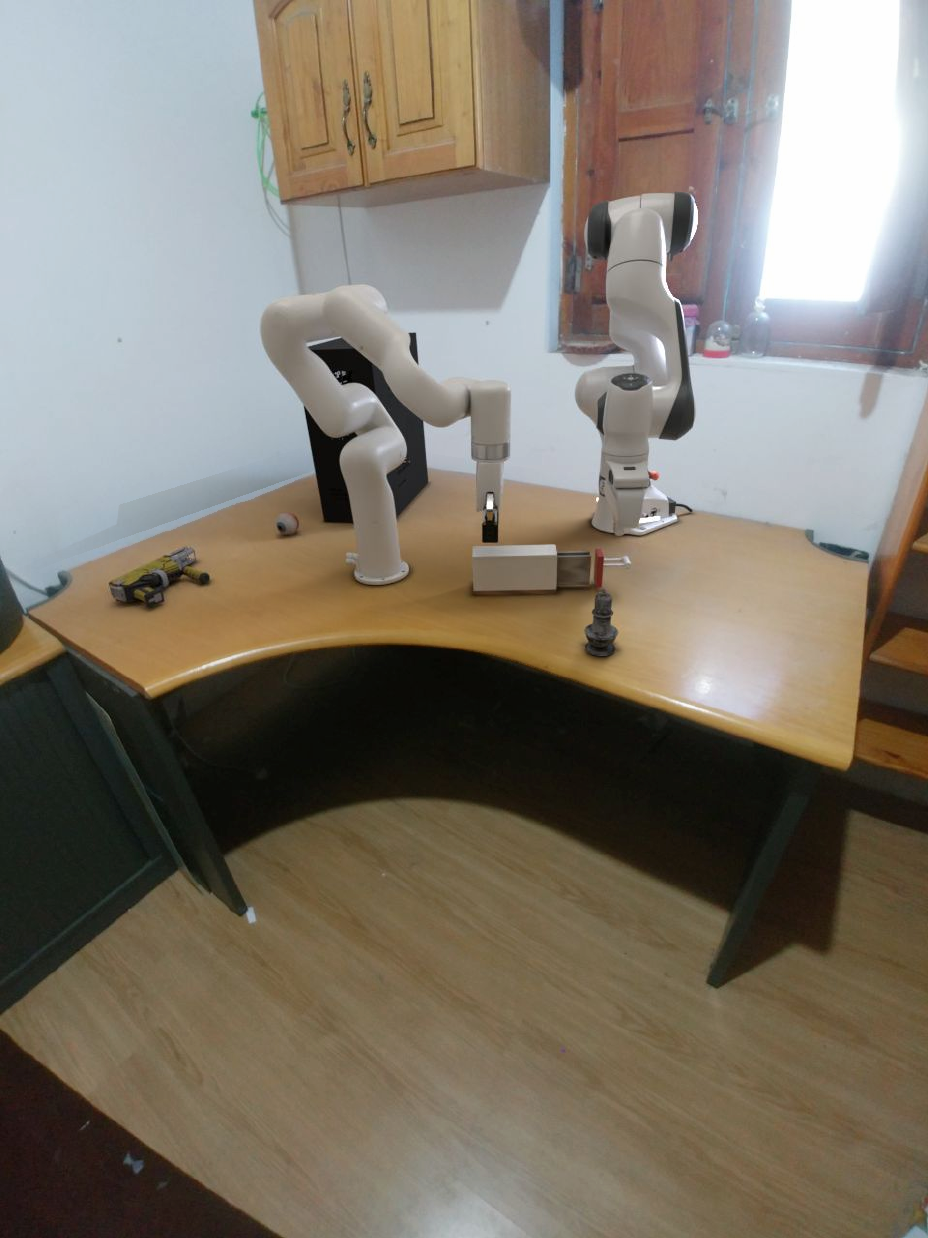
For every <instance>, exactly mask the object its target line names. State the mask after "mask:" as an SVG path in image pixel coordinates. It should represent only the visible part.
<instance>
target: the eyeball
mask: <svg viewBox="0 0 928 1238" xmlns="http://www.w3.org/2000/svg"><path fill="white" fill-rule="evenodd" d="M299 525H300V522H299V519H298V517H297V516H296V515H295V514H294V513H292V512H287V511H286V512H282V513H280V514H279V515H278V516H277V517H276V520H275V527H276V529H277V530H278V531H279V532H280V533H281V534H282V535H285V536H286V535H287V536H289V535H293V534H295V533H296V532H297V531H298V529H299Z"/></svg>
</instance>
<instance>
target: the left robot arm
mask: <svg viewBox="0 0 928 1238" xmlns="http://www.w3.org/2000/svg"><path fill="white" fill-rule="evenodd" d="M408 333H409V332H408V331H407V330H406V329H405V328H404V327H403V326H401V325H400V324H399V323H397V322H396V321H395V320H393V319H392V318H391V317H390V316H389V315H388V306H387V301H386V300H385V298H384V296H383V294H382V293H381V292H380V291H379V290H378V289H377V288H376V287H373V286H372V285H369V284H364V283H359V284H346V285H340V286H337V287H335V288H333V289H332V290H330V291H325V292H318V293H307V294H297V295H295V294H294V295H287V296H283V297H279V298H276V299H274V300H273V301H271V302H269V303H268V305H267V306H266V307H265V308H264V310H263V312H262V314H261V317H260V323H259V334H260V339H261V343H262V347H263V349H264V351H265V354H266V356H267V357H268V359H269V360H270V362H271V363H272V365H273V366H274V367H275V369H276V370H277V371H278V372H279V374H280V375H281V376H282V377H283V379H284V380H285V381H286V382H287V383H288V385H289V386H290V387H291V389H292V390H293V391H294V393H295V395H296V396H297V397H298V399H299V400H300V402H301V404H302V405H303V407H304V406H305V407H306V409H307V410H308V412H309V413H310V414H311V416H312V417H313V419H314V420H315V422H316V423H317V424H318V426H319V427H320V428H321V430H322V431H323V432H324V433H325V434H326V435H328V436H330V437H333V438H339V437H343V436H346V435H348V434H351V433H353V432H355V433H356V434H357V437H355V438H354V439H352V440H350V441H349V442H348V443H347V444H346V445H345V446H344V448H343V449H342V452H341V455H340V467H341V471H342V474H343V477H344V480H345V483H346V486H347V489H348V494H349V499H350V504H351V511H352V516H353V522H352V523H353V528H354V529H353V530H354V535H355V542H356V548H357V553H355V552H346V554H345V564H346V565H349V566H354V567H355V569H354V571H353V575H354V578H355V580H356V581H358V582H359V583H361V584H364V585H369V586H384V585H389V584H393V583H396V582H398V581H401V580H402V579H404V578H405V577H407V575H408V574H409V572H410V569H409V564H408V563H407V562H406V561H404V560H403V559H402V555H401V547H400V539H399V531H398V530H399V529H398V521H397V518H396V511H395V504H394V497H393V493H392V490H391V488H390V485H389V483H388V481H387V478H386V474H388V473H389V472H391V471H392V470H394V469H395V468H397V467H398V466H400V465H401V464H402V463H403V461H404V460H405V457H406V454H407V446H406V442H405V439H404V437H403V435H402V433H401V432H400V430H399V429H398V427H397V426H396V424H395V423H394V421H393V420H392V418H391V417H390V415H389V414H388V412H387V411H386V409H385V408H384V406H383V405H382V403H381V402H380V401H379V399H378V398H377V396H376V395H375V394H374V393H373V392H372V391H371V390H370V389H369V388H367V387H366V386H364V385H362V384H359V383H348V384H345V385H341V383H339V382H338V380H337V379H336V378H335V377H334V375H333V374H332V372H331V371H330V369H329V368H328V366H327V365H326V364H325V362H324V361H323V360H322V359H321V358H320V357H318V356H317V355H316V354H315V353H313V352H312V351H311V350H310V349H309V348H308V345H307V344H309V343H313V342H318V341H323V340H329V339H333V338H335V339H336V338H343V339H344V340H345V341H346V342H348V343H349V344H350V345H351V346H352V347H354V348H355V349H356V350H357V351H359V352H360V353H361V354H362V355H363V356H365V357H366V358H367V359H368V360H369V361H370V362H372V363H373V364H374V365H375V366H376V367H378V368H379V369H380V370H381V371H382V373H383V375H384V378H385V380H386V382H387V384H388V385H389V387H390V389H391V390H392V392H393V393H394V395H395V396H396V397H397V399H398V400H399V401H400V402H401V403H402V404H403V405H404V406H406V407H407V408H408V409H409V410H410V411H412V412H413V413H414V414H415V415H416V416H418V417H419V418H420V419H422V420H423V423H426V424H427V425H430V426H432V427H435V428H447V427H450V426H452V425H453V424H456V423H457V422H458V421H460V420H464V419H466V418H469V417H470V456H471V457H470V459H471V460H472V461H474V462H476V466H475V509H476V510H475V511H476V512H477V513H480V512H482V523H481V542H482V543H483V544H498V542H499V522H500V521H499V515H500V511H501V509H502V502H503V501H502V500H503V494H504V493H503V491H504V469H505V468H504V467H505V462H506V461H509V460H510V459H511V430H512V429H511V424H512V423H511V422H512V421H511V420H512V417H511V416H512V389H511V386H510V384H509V383H507V382H505V381H503V380H489V379H488V380H479V379H478V380H477V379H472V378H468V377H464V376H454V377H450V378H448V379H445V380H443V381H440V382H439V381H437V380H436V379H435V378H433V376H431V375H430V374H428V373H427V372H426V371H425V370H424V369H423V368H422V367H421V366H420V365H418V364H417V363H416V362H415V360H414V359H413V357H412V355H411V353H410V350H409V346H410V336H409V334H408Z"/></svg>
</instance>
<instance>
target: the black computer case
mask: <svg viewBox="0 0 928 1238" xmlns="http://www.w3.org/2000/svg"><path fill="white" fill-rule="evenodd" d="M408 334H409V336H410V346H409V350H410V353H411V355H412V357H413V359H414V360H415V362H416V363H417V364H418V365H419V363H420V362H419V352H418V351H419V350H418V340H417V332H408ZM307 347H308V348H309V349H310V350H311V351H312V352H313V353H315V354H316V355H317V356H318V357H320V358H321V359H322V360H323V361H324V362H325V364H326V365H327V366H328V368H329V369H330V371H331V372H332V374H333V375H334V377H335V378H336V379H337V380H338V382H339V383H340V384H341V385H345V384H348V383H359V384H362V385H364V386H366V387H367V388H369V389H370V390H371V391H372V392H373V393H374V394H375V395H376V396H377V398H378V399H379V401H380V402H381V403H382V405H383V406H384V408H385V409H386V411H387V412H388V414H389V415H390V417H391V418H392V420H393V421H394V423H395V424H396V426H397V427H398V429H399V430H400V432H401V433H402V435H403V437H404V439H405V442H406V446H407V454H406V457H405V460H404V461H403V463H402V464H401V465H400V466H398V467H397V468H395V469H394V470H392V471H391V472H389V473H388V474H386V478H387V481H388V483H389V485H390V488H391V490H392V493H393V497H394V504H395V511H396V519H397V518H398V517H399V516H400V515H401V513H403V511H404V510H405V509H406V508H407V507H408V506H409V505H410V503H412V502H413V500H414V499H415V498H416V497H417V496H418V494H420V492H421V491H422V490H423V489H424V488H425V487H426V486H427V485H428V483H429V474H428V472H429V471H428V462H427V461H428V460H427V449H426V447H427V446H426V436H425V424H424V423H425V422H424V421H423V420H422V419H420V418H419V417H418V416H416V415H415V414H414V413H413V412H412V411H410V410H409V409H408V408H407V407H406V406H404V405H403V404H402V403H401V402H400V401H399V400H398V399H397V397H396V396H395V395H394V393H393V392H392V390H391V389H390V387H389V385H388V384H387V382H386V380H385V378H384V375H383V373H382V371H381V370H380V369H379V368H378V367H376V366H375V365H374V364H373V363H372V362H370V361H369V360H368V359H367V358H366V357H365V356H363V355H362V354H361V353H360V352H359V351H357V350H356V349H355V348H354V347H352V346H351V345H350V344H349V343H348V342H346V341H345V340H344V339H343V338H342V337H337V338H335V339H331V340H327V341H323V342H320V343H316V344H312V345H307ZM419 366H420V365H419ZM303 410H304V411H303V412H304V416H305V421H306V427H307V428H306V429H307V434H308V438H309V444H310V449H311V450H310V451H311V456H312V462H313V466H314V472H315V478H316V483H317V490H318V495H319V496H318V497H319V501H320V506H321V512H322V513H321V514H322V518H323V521H324V522H329V523H330V522H331V523H354V522H353V516H352V511H351V504H350V499H349V494H348V489H347V486H346V483H345V480H344V477H343V474H342V471H341V467H340V455H341V452H342V449H343V448H344V446H345V445H346V444H347V443H348V442H349V441H350V440H352V439H354V438H355V437H357V434H356V433H355V432H353V433H351V434H348V435H346V436H343V437H339V438H333V437H330V436H328V435H326V434H325V433H324V432H323V431H322V430H321V428H320V427H319V426H318V424H317V423H316V422H315V420H314V419H313V417H312V416H311V414H310V413H309V412H308V410H307V409H306V407H305V406H304V405H303Z"/></svg>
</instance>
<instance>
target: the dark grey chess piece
mask: <svg viewBox="0 0 928 1238" xmlns="http://www.w3.org/2000/svg"><path fill="white" fill-rule="evenodd" d="M612 604H613V597H612V595H611V593H609V592H607V590H606V589H605V588H603V589H602V590H601V592H598V593H597V594H595V595H594V604H593V605H594V606H593V607H594V608H593V609H592V610H591V615H592V623H589V624H588V625H586V626H585V627H584V629H583V632H584V635H585V638H586V640H587V641H588V642H586V643H585V645H584V650H585V651H586V652H587V653H589V654H590V655H592V656H597V657H606V656H610V655H612V654H614V653H615V649H616V647H615V645H614V644H613V643H614V642H615V640H616V639H617V637H618V635H619V630H618V629H617V627H616V626H614V625H613V624H612V622H611V621H612V616H613V615H614V611H613V610H612Z"/></svg>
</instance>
